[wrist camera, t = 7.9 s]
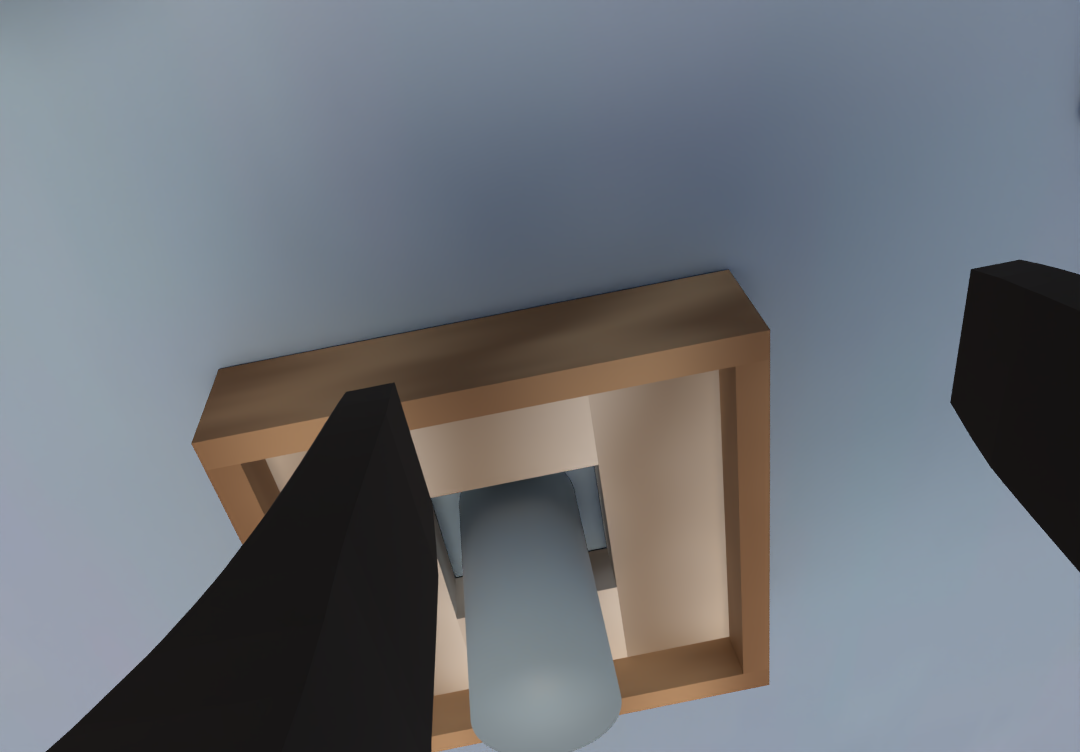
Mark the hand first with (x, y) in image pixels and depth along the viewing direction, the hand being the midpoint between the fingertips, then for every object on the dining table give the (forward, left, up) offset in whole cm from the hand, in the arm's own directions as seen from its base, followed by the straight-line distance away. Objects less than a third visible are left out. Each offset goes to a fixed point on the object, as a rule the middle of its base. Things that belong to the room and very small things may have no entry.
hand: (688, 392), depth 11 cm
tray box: (+3, +11, -10) cm, 15 cm away
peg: (+3, +10, -10) cm, 15 cm away
